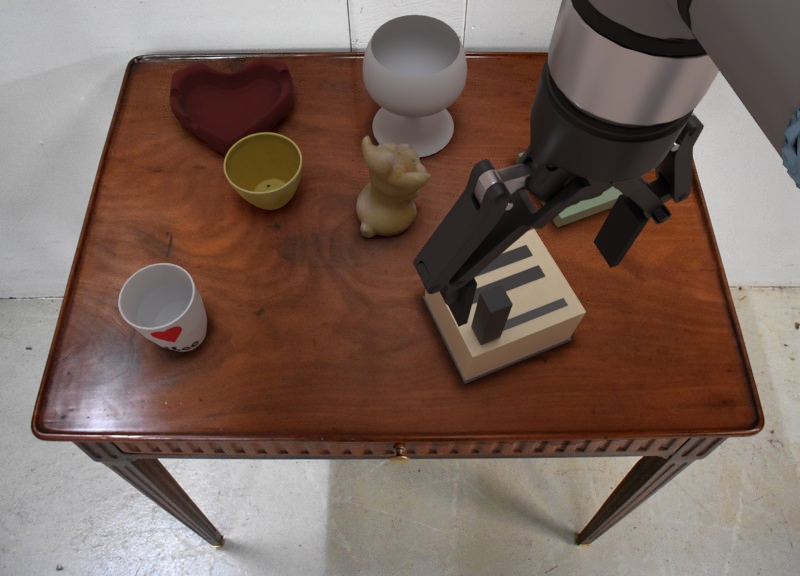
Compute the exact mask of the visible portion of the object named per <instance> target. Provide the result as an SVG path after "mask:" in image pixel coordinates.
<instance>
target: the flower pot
mask: <svg viewBox="0 0 800 576" xmlns="http://www.w3.org/2000/svg"><path fill="white" fill-rule="evenodd" d="M223 172H224V176H225V178H226V179H227V181H228V183H229V184H230V185H231V187H232V188H233V190H235V192H237V194H238V195H239V196H240V197H242V198H243V199H244V200H245V201H247V202H248V203H250V204H251V205H253V206H255V207H257V208H260V209H263V210H268V211H273V210H278V209H280V208H282V207H284V206H286V205H287V204H289V202H290V201H291V200H292V198H293V197H294V195H295V193H296V191H297V189H298V187H299V184H300V181H301V177H302V172H303V156H302V152H301V149H300V148H299V147H298V144H297V143H295V142H294V141H293V140H292V139H290V138H289V137H288V136H285V135H284V134H280V133H276V132H270V131H269V132H268V133H267V132H265V133H256V134H252V135H249V136H247V137H245V138H243V139H241V140H239V141H238V142H237V143H235V144H234V145H233V146H232V147H231V148H230V149H229V151H228V153H227V154H226V156H224V160H223Z"/></svg>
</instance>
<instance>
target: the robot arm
mask: <svg viewBox="0 0 800 576" xmlns="http://www.w3.org/2000/svg"><path fill="white" fill-rule="evenodd" d="M547 52H548V53H547V57H546V59H545V61H544V63H543V67H542V69H541V73H540V76H539V80H538V84H537V87H536V91H535V95H534V98H533V101H532V105H531V109H530V116H529V126H530V127H529V134H530V136H529V137H530V138H529V139H530V140H529V144H528V146H527V148H526V149H525V150H524V151H523V152H524V153H523V152H522V153H523V155H522V156H521V157H520V158H519V160H518V162H517V161H516V162H517V165H516V164H514V165H509V166H506V167H502V168H498V169H497V168H495V166H494V164H493V163H492V161H491V160H490V159H488V158H487V159H481V160H480V161H478V162H477V163H475V164H474V165H473V166H472V168H471V170H470V174H469V177H468V180H467V183H466V187H465V189H464V191H463V192H462V193H461V194H460V196H459V197H458V198H457V200H456V201H455V203H454V204H453V205H452V207H451V208H450V209H449V211H448V212H447V214H446V215H445V216H444V218H443V219H442V220H441V222H440V224H439V225H438V226H437V227H436V228H435V230H434V232H432V234H431V236H430V237H429V238H428V240H427V241H426V243H425V244H424V246H423V247H422V248H421V249H420V250H419V252H418V253H417V254H416V256H415V258H413V261H412V264H413V266H414V268H415V270H416V272H417V274H418V276H419V279H420V280H421V283H422V284H423V287H424V290H425V289H426V291H427V293H428V294H434V293H437V292H440V294H441V296H442V298H443V300H444V302H445V303H446V304H447V305H448V307H449V309H450V311H451V313H452V315H453V317H454V319H455V321H456V323H457V325H458V327H459V326H462V325H464V324H467V323H468V319H469V315H470V311H471V307H472V303H473V300H474V296H475V292H476V288H477V282H476V280H475V278H474V277H475V276H476V275H477V274H479V273H480V272H481V271H482V270H483V269H484V268H486V267H487V266H488V265H489V264H490V263H491V262H492V261H494V260H495V259H496V258H497V257H498V256H499V255H501V254H502V253H503V252H504V251H505V250H506V249H508V248H509V247H510V246H511V245H512V244H513V243H515V242H516V241H517V240H518V239H519V238H520V237H521V236H523V235H524V234H525V233H526V232H527V231H529V230H532V229H535V230H541V229H543V228H545V227H546V226H547V225H548V224H549V223H551V222H553V219H554V218H555V217H556V216H557V215H559V214H560V213H561V212H562V211H563V210H565V209H566V208H568V207H570V206H572V205H576V204H577V203H579V202H580V201H584V200H589V199H593V198H596V197H598V196H601V195H602V194H603V192H605V191H606V190H608V189H610V188H611V187H612V186H613V187H614V188H615V189H618V190H619V191H620V192H621V193H622V194H621V195H619V197H618V198H617V200H616V202H615V204H614V206H613V207H612V208H610V211H609V213H608V214H607V216H606V218H605V220H604V222H603V224H602V225H601V227H600V228H599V230H598V233H597V234H596V236H595V237H594V239H593V240H592V241H593V244H594V245H595V247H596V248H597V250H598V252H599V253H600V254H601V256H602V258H603V259H604V261H605V262H606V264H607V265H608V267H609V268H610V269H612V268H615V267H617V266H619V265H620V264H621V262H622V261H623V259H624V258H625V256H626V255H627V253H628V251H629V250H630V249H631V247H632V246H633V244H634V243H635V242H636V240H637V239H638V237H639V235H640V234H641V232H642V231H643V229H644V228H645V227H646V226H647V224H648V222H649V221H650V220H651V219H652V221H653V222H654V223H655V224H656V225H660V224H663V223H665V222H667V221H668V220H669V219H670V218H671V217H672V212H671V211H670V210H669V208H668V207H667V205H666V204H665V203H667V202H669V201H671V200H673V202H674V203H676V204H678V203H681V202H683V201H686V200H687V199H688V197H689V196H690V195H691V193H692V177H693V176H692V175H693V173H692V172H693V158H694V146H695V144H696V143H697V141H698V139H699V137H700V136H701V134H702V132H703V130H704V127H705V125H704V123H703V122H702V121H701V120H700V119H699V118H698V117H697V115H696V114H695V112H694V111H695V109H696V108H697V107H698V105H699V104H700V103H701V101H703V98H704V97H705V96H706V95H707V93H708V91H709V90H710V88H711V86H712V85H713V83H714V81H715V79H716V78H717V76H718V74H719V73H720V74H721V75H722V76H723V78H724V80H725V81H726V82H727V84H728V85H729V86H730V88H731V89H732V91H733V93H734V94H735V95H736V96H737V98H738V99H739V101H740V102H741V103H742V105H743V106H744V107H745V109H746V111H747V112H748V113H749V115H750V116H751V117H752V119H753V120H754V122H755V123H756V124H757V126H758V127H759V129H760V130H761V131H762V133H763V135H764V136H765V137H766V139H767V141H769V143H770V144H771V146H772V147H773V149H774V150H775V151H776V153H777V154H778V155H779V157H780V158H781V160H782V166H783V167H784V168H785V169H786V173H787V174H788V176H789V177H790V179H791V180H793V182H794V184H795V186H796V187H795V188H797V189H799V190H800V0H561V2H560V6H559V10H558V13H557V16H556V21H555V23H554V28H553V31H552V34H551V39H550V42H549V45H548V51H547ZM653 170H654V174H655V178H656V179H655V180H652V181H651V182H649V181H647V179H646V178H645V177H644V175H646V174H648V173H649V172H652V171H653ZM528 193H530V194H531V195H532V196H533V197H535V198H536V199H537V200H538V201H539V202H540V201H541V202H542V203H543V204H544V206H543V205H542V206H541V207H540V208H537V206H536V205H535V203H534V201H533V200H532V198H531V197H530V196H529V194H528ZM541 202H540V203H541ZM542 203H541V204H542Z"/></svg>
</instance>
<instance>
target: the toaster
mask: <svg viewBox="0 0 800 576" xmlns="http://www.w3.org/2000/svg"><path fill="white" fill-rule="evenodd" d="M474 278H475V280H476V282H477V288H476V292H475V296H474V300H473V303H472V307H471V311H470V315H469V319H468V323H467V324H464V325H462V326H459V327H458V325H457V323H456V321H455V319H454V317H453V315H452V313H451V311H450V309H449V307H448V305H447V304H446V303H445V302H444V300H443V298H442V296H441V294H440V292H437V293H434V294H428V293H427V291H426V289H425V288H424V290H425V292H424V295H422V300H423V302H424V304H425V306H426V307H425V308H427V311H428V312H429V315H430V317H431V319H432V321H433V323H434V325H435V327H436V330H437V331H438V334H439V335H440V337H441V339H442V341H443V344H444V346H445V348H446V349H447V351H448V354H449V356H450V358H451V360H452V362H453V364H454V366H455V369H456V370H457V372H458V374H459V376H460V378H461V380H462V382H463V383H462V384H464V385H467V384H469V383H471V382H474V381H477V380H479V379H481V378H484V377H486V376H489V375H491V374H495V372H498V371H501V370H503V369H506V368H508V367H510V366H513V365H516V364H518V363H521V362H524V361H526V360H528V359H530V358H533V357H535V356H538V355H540V354H543V353H545V352H547V351H550V350H553V349H555V348H557V347H560V346H562V345H565V344H567V343H570V342H571V341H572V340H573V339H572V335H573V334H574V332H575V330H576V329H577V327H578V326H579V324H580V322H581V321H582V319H583V318H584V316H585V314H586V313H587V311H586V309H585V307H584V306H583V304H582V303H581V301H580V300H579V298H578V296H577V295H576V293H575V292H574V290H573V289H572V287H571V285H570V284H569V282H568V280H567V279H566V277H565V276H564V274H563V273H562V271H561V269H560V267H559V266H558V264H557V263H556V262H555V260H554V258H553V256H552V255H551V253H550V251H549V250H548V248H547V247H546V246H545V244H544V242H543V241H542V239H541V237H540V236H539V234H538V232H537V231H536V229H535V228H531V229H530V230H528V231H527V232H526V233H525V234H524V235H523V236H521V237H520V238H519V239H518V240H517V241H516V242H515V243H513V244H512V245H511V246H510V247H509V248H508V249H506V250H505V251H504V252H503V253H502V254H501V255H499V256H498V257H497V258H496V259H495V260H494V261H492V262H491V263H490V264H489V265H488V266H487V267H486V268H484V269H483V270H482V271H481V272H480V273H479V274H477V275H476V276H475V277H474ZM499 285H502V286H503V288H504V290H505V291H506V293H507V295H508V297H509V298H510V300H511V302H512V304H513V306H512V308H511V311H510V313H509V316H508V319H507V321H506V324H505V327H504V329H503V332H502V335H501V337H500V338H498V339H496V340H493V341H490V342H488V343H485V344H483V345H480V343H479V341H478V339H477V337H476V335H475V334H474V332H473V330H472V328H471V325H472V321H473V317H474V313H475V310H476V306H477V302H478V298H479V294H480V292H483V291H486V290H488V289H491V288H494V287H496V286H499Z"/></svg>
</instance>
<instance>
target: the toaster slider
mask: <svg viewBox="0 0 800 576" xmlns="http://www.w3.org/2000/svg"><path fill="white" fill-rule="evenodd" d="M512 306H513V304H512V302H511V300H510V298H509V297H508V295H507V293H506V291H505V290H504V288H503V286H502V285H499V286H496V287H494V288H491V289H488V290H486V291H483V292H480V294H479V298H478V302H477V306H476V310H475V313H474V317H473V321H472V325H471V328H472V330H473V332H474V334H475V335H476V337H477V339H478V341H479V343H480V345H483V344H485V343H488V342H490V341H493V340H496V339H498V338H500V337H501V335H502V332H503V329H504V327H505V324H506V321H507V319H508V316H509V313H510V311H511V308H512Z"/></svg>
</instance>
